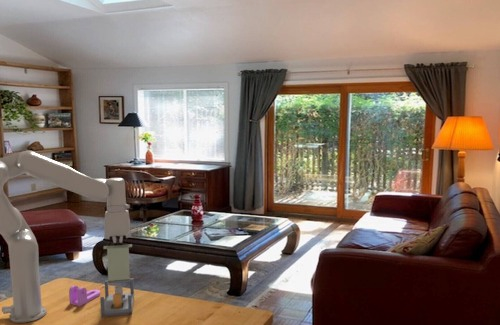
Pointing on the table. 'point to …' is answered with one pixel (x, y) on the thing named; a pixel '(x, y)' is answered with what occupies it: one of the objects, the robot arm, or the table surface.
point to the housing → (126, 300)
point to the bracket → (81, 295)
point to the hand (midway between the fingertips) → (118, 251)
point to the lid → (118, 263)
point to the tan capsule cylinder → (117, 301)
